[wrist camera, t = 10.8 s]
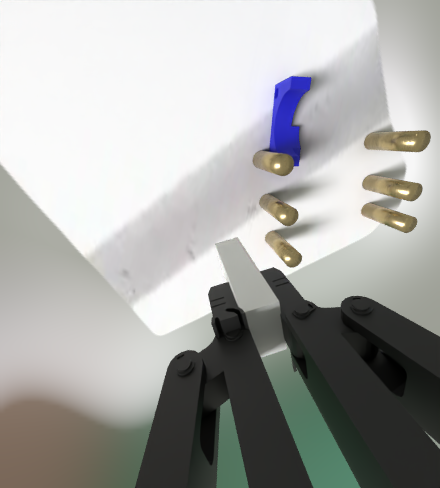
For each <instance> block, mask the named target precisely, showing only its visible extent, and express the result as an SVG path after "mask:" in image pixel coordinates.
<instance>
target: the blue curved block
mask: <svg viewBox="0 0 440 488" xmlns="http://www.w3.org/2000/svg"><path fill="white" fill-rule="evenodd" d="M310 84H311V77H296V76H291V77H289V78H287V79H286V80H284V81H282V82H280V83H278V84H276V85H275V95H274V106H273V117H272V128H271V138H270V149H269V152H275V153H283V154H289V155H290V156H292V158H293V160H294V166H299V160H300V149H301V148H300V143H299V127H297V126H291V125H292V119H293V115H294V112H295V109H296V106H297V104H298V102H299V100H300V99H301V97H302V96H303V95H304V94H305V93H306V92H307V91H309V90H310Z"/></svg>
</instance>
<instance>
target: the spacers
mask: <svg viewBox="0 0 440 488" xmlns="http://www.w3.org/2000/svg"><path fill="white" fill-rule="evenodd" d="M430 138H431V136H430V133H429V132H428V131H399V132H373V133H370V134H369V135H368V136H367V137H366V139H365V141H364V145H365V148H366V149H368V150H387V151H406V152H421V151H423V150H424V149H425V148H426V147H427V146H428V144H429V142H430ZM253 164H254V166H255V167H257V168H259V169H262V170H265V171H268V172H271V173H274V174H277V175H280V176H286V175H288V174H289V173H290V172H291V171H292V170H293V167H294V160H293V158H292V156H290V155H289V154H283V153H275V152H268V151H258V152H257V153H255V155H254V157H253ZM362 185H363V188H364V189H365V190H369V191H373V192H376V193H380V194H384V195H388V196H392V197H396V198H399V199H403V200H407V201H414V200H416V199H417V198H418V197H419V196H420V195H421V193H422V185H421V184H419V183H413V182H408V181H403V180H397V179H391V178H386V177H380V176H375V175H369V176H367V177H366V178H365V179H364V181H363V184H362ZM259 204H260V206H261V208H263V209H264V210H265V211H267V212H268V213H269V214H270V215H272V216H273V217H274V218H276V219H277V220H278V221H279V222H281V223H282V224H283V225H285V226H290V225H293V224H294V223H295V222H296V221H297V219H298V211H297V210H296V209H295V208H293V207H291V206H289V205H288V204H286V203H284V202H282V201H281V200H279V199H277V198H275V197H274V196H272V195H270V194H265V195H263V196H262V197H261V199H260V201H259ZM361 214H362V215H363V216H365V217H367V218H370V219H372V220H375V221H377V222H380V223H382V224H385V225H387V226H390V227H392V228H395V229H397V230H400V231H402V232H404V233H408V232H411V231H412V230H413V229H414V228H415V227H416V225H417V219H416V218H415V217H412V216H409V215H406V214H403V213H400V212H397V211H394V210H391V209H388V208H384V207H381V206H378V205H375V204H372V203H367V204H365V205H364V206H363V208H362V210H361ZM265 241H266V243H267V244H268V245H269V246H270V247H271V248H272V249H273V250H274V251H275V253H276V254H277V255H278V256H279V257H280V258H281V259H282V260H283V261H284V263H285V264H286V265H287V266H288V267H296V266H298V265H299V264H300V262H301V260H302V256H301V254H300V253H299V252H298V251H297V250H296V249H295V248H293V247H292V246H291V245H290V244H289V243H288V242H287V241H286V240H285V239H283V238H282V237H281V236H280V235H279V234H278V233H277V232H275V231H271V232H269V233H267V235H266V237H265Z"/></svg>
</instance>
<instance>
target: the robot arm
mask: <svg viewBox="0 0 440 488" xmlns="http://www.w3.org/2000/svg"><path fill="white" fill-rule="evenodd" d="M215 246H216V249H217V253H218V257H219V260H220V264H221V267H222V271H223V275H224V278H225V281H226V283H223V284H220V285H217V286H214V287H211V288H210V291H209V293H208V296H209V301H210V305H211V310H212V314H213V317H212V327H213V330H214V332H215V338H214V340H213V342H212V343H211V344H210V345H209V346H208V347H207V348H205V349H204V350H202V351H201V352H199V353H197V352H196V351H192V350H187V351H184V352H181V353H180V354H178V355H176V356H175V357H174V358H173V359H172V361H171V362H170V364H169V366H168V368H167V372H166V376H165V379H164V383H163V387H162V390H161V394H160V398H159V401H158V405H157V409H156V412H155V416H154V420H153V424H152V427H151V431H150V434H149V438H148V442H147V445H146V449H145V453H144V457H143V460H142V464H141V468H140V471H139V475H138V479H137V482H136V486H135V488H216V481H217V460H218V440H219V418H220V405H222V404H223V403H224V402H226V401H227V400H228V399H229V398H230V402H231V406H232V411H233V416H234V420H235V425H236V430H237V434H238V439H239V444H240V447H241V453H242V457H243V462H244V467H245V471H246V476H247V480H248V485H249V488H313V486H312V484H311V481H310V479H309V476H308V474H307V471H306V469H305V466H304V464H303V461H302V459H301V456H300V454H299V451H298V449H297V446H296V444H295V441H294V439H293V436H292V434H291V432H290V429H289V426H288V424H287V422H286V419H285V416H284V414H283V411H282V409H281V407H280V404H279V402H278V399H277V397H276V394H275V392H274V389H273V387H272V384H271V382H270V379H269V377H268V374H267V372H266V369H265V367H264V365H263V362H262V359H261V357H264V356H267V355H270V354H273V353H276V352H279V351H282V350H285V349H287V348H286V343H287V345H288V347H289V348H290V351H291V358H292V364H293V369H294V372H295V371H297V370H296V368H297V369H298V371H299V373H300V375H301V377H302V379H303V381H304V383H305V384H306V386H307V388H308V390H309V392H310V394H311V396H312V397H313V399H314V401H315V403H316V405H317V407H318V409H319V411H320V413H321V414H322V416H323V418H324V420H325V422H326V424H327V426H328V427H329V429H330V431H331V433H332V435H333V437H334V439H335V440H336V442H337V444H338V446H339V448H340V450H341V452H342V454H343V456H344V457H345V459H346V461H347V463H348V465H349V467H350V469H351V471H352V472H353V474H354V476H355V478H356V480H357V482H358V484H359V486H360V487H361V488H440V449H439V448H438V447H437V445H436V444H435V443H434V442H433V441H432V440H431V439H430V437H429V436H428V435H427V434H426V433H428V434H429V435H430V436H431V437H432V438H433V439H434V440H436V441H437V442H438V443H439V444H440V337H439V336H438V335H436V334H434V333H432V332H430V331H428V330H427V329H425V328H423V327H421V326H419V325H418V324H416V323H414V322H412V321H410V320H409V319H407V318H405V317H403V316H401V315H399V314H398V313H396V312H394V311H392V310H390V309H389V308H386V307H385V306H383V305H381V304H379V303H378V302H376V301H374V300H372V299H369V298H367V297H362V296H351V297H348V298H345V300H343V301H342V303H341V307H335V308H320V307H317V306H316V305H315V304H314V303H312V302H309V301H307V300H304V299H303V297H302V296H301V295H300V294H299V292H298V291H297V290H296V289H295V288H294V286H293V285H292V284H291V283H290V281H289V280H288V279H287V278H286V276H285V275H284V274H283V273H282V272H281V271H280V270H278V269H276V268H274V267H273V268H270V269H267V270H263V271H259V270H258V268H257V267H256V265H255V263H254V262H253V260H252V259H251V257H250V256H249V254H248V253H247V251H246V250H245V248H244V247H243V245H242V244H241V242H240V240H239V239H238V237H237V238H234V239H230V240H227V241H223V242H220V243H217V244H215ZM285 341H286V342H285ZM425 432H426V433H425Z"/></svg>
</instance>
